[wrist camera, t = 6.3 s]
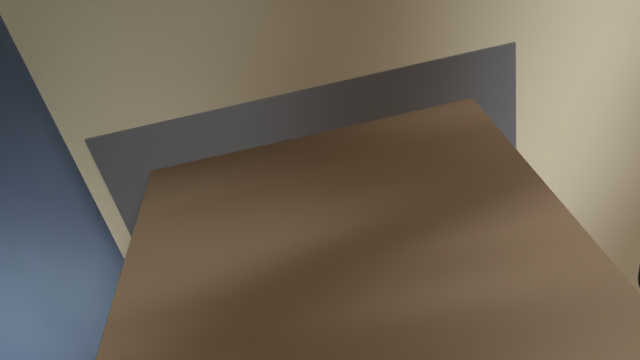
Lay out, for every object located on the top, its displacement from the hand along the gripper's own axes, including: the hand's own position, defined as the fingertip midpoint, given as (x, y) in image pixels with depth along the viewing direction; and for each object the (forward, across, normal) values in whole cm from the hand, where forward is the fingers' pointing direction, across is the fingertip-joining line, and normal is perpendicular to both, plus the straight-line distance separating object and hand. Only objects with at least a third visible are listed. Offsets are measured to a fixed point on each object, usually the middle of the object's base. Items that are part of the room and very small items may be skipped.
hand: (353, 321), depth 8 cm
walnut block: (+2, 0, 0) cm, 2 cm away
